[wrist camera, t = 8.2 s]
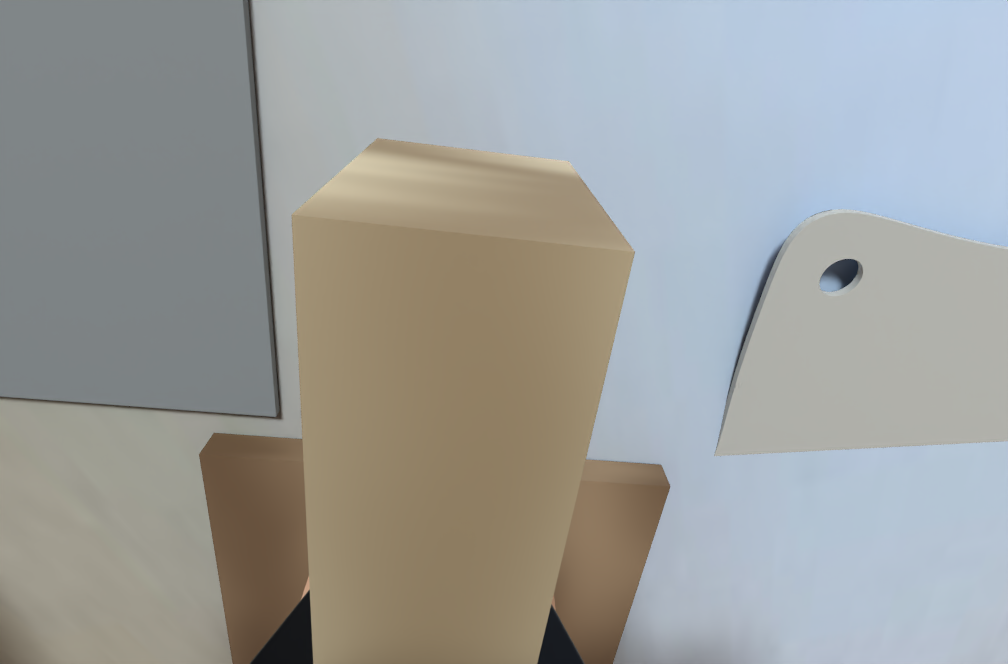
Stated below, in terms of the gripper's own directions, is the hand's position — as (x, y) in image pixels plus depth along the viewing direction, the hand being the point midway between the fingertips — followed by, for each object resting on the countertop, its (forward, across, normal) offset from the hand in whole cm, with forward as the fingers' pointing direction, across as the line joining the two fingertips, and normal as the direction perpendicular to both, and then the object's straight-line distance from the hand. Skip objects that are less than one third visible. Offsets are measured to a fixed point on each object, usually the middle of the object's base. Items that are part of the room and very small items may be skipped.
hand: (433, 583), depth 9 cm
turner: (+1, 0, +1) cm, 2 cm away
